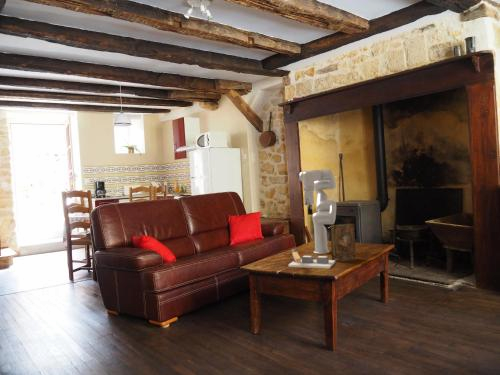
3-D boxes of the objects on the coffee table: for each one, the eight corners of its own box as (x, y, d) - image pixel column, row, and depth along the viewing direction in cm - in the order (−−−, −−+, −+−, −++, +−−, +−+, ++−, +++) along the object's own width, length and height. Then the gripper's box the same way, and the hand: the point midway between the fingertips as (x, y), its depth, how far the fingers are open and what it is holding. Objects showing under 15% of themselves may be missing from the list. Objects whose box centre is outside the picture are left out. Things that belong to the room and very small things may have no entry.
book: (353, 258, 295) (351, 223, 294) (357, 259, 289) (355, 224, 288) (331, 260, 291) (330, 225, 291) (335, 262, 286) (333, 226, 285)
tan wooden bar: (297, 255, 288) (296, 249, 288) (301, 263, 262) (301, 256, 262) (291, 255, 289) (291, 249, 288) (295, 264, 262) (295, 257, 262)
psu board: (296, 261, 296) (295, 253, 296) (335, 262, 285) (334, 254, 285) (288, 266, 279) (288, 258, 279) (329, 268, 268) (329, 259, 268)
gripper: (306, 188, 302) (307, 213, 302) (300, 189, 288) (302, 215, 289) (316, 188, 299) (317, 213, 299) (311, 189, 285) (312, 215, 286)
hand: (310, 214), depth 294 cm, fingers closed
